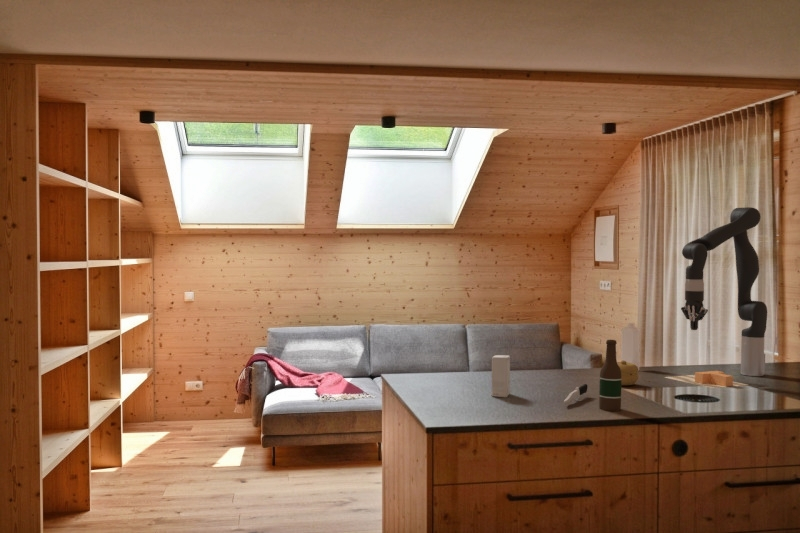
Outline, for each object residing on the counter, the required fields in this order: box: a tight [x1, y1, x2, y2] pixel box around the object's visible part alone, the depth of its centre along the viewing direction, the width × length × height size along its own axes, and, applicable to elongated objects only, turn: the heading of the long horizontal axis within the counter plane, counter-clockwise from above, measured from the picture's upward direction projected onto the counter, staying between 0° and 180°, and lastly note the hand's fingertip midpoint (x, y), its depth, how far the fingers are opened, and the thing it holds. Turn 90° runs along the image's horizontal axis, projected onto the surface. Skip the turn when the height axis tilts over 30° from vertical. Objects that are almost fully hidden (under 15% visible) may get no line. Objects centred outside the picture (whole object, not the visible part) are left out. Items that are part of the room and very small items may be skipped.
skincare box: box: [491, 354, 511, 398], centre depth 272 cm, size 8×6×15 cm
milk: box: [620, 322, 641, 372], centre depth 332 cm, size 6×6×22 cm
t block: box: [694, 370, 734, 388], centre depth 296 cm, size 12×12×4 cm
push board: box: [664, 374, 748, 389], centre depth 302 cm, size 20×26×1 cm
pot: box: [617, 360, 639, 386], centre depth 297 cm, size 12×12×10 cm
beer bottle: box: [598, 339, 622, 412], centre depth 251 cm, size 8×8×24 cm
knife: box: [563, 383, 588, 407], centre depth 262 cm, size 25×2×5 cm, turn 148°
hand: (694, 329), depth 312 cm, fingers closed
